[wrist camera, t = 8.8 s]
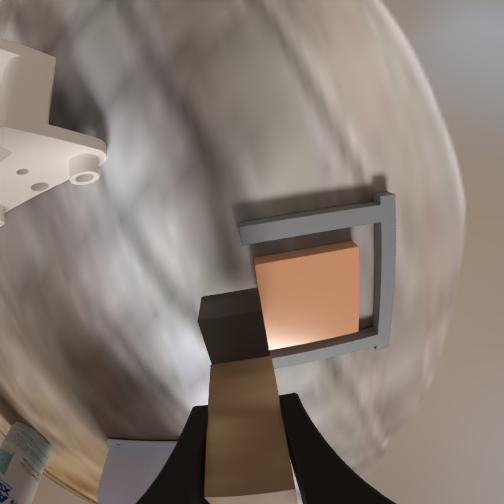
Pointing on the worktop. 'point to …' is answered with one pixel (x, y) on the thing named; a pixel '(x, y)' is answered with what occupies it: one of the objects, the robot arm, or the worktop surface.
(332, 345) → the frame
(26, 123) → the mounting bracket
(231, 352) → the two-tone stacked blocks
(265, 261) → the tile
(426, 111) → the worktop surface
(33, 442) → the spray paint can
